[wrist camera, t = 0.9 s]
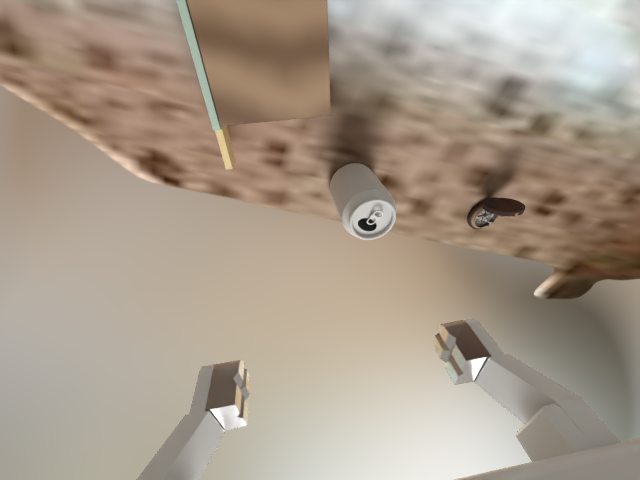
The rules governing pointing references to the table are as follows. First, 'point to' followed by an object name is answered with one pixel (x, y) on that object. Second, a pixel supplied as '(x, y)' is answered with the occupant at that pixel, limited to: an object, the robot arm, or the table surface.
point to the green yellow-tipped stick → (206, 85)
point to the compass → (493, 211)
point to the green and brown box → (264, 58)
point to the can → (362, 202)
